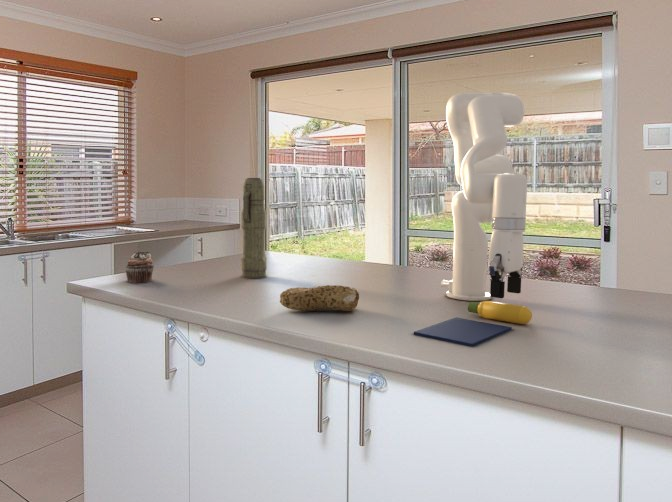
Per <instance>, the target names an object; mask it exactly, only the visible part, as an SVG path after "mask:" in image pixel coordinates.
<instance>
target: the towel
mask: <svg viewBox="0 0 672 502" xmlns="http://www.w3.org/2000/svg"><path fill="white" fill-rule="evenodd" d="M512 329H513V327H512V326H508V325H504V324H503V325H501V324H496V323H491V322H484V321H479V320H474V319H468V318H462V317H453V318H451V319H448V320H445V321H442V322H439V323H436V324H433V325H430V326H427V327H424V328H421V329H418V330H415V331H413V335H414V336H420V337H423V338H430V339H434V340H438V341H443V342H448V343H453V344H457V345H458V344H459V345H463V346H468V347H474V346H477V345H480V344H482V343H484V342H486V341H488V340H491V339H493V338H495V337H497V336H500V335H503V334H505V333H507V332H509V331H512Z"/></svg>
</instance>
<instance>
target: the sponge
mask: <svg viewBox="0 0 672 502" xmlns="http://www.w3.org/2000/svg"><path fill="white" fill-rule="evenodd" d="M359 300H360V292H359V291H358V289H356V288H354V287H350V286H344V285H336V284H335V285H329V284H328V285H318V286H315V287H304V286H303V287H300V286H299V287H290V288H288V289H286V290H285V291H282V292H281V293H280V295H279V303H280V304H281V306H283V307H284V308H287V309H290V310H294V311H300V312H314V311H315V312H317V311H322V310H337V311H343V312H351V311H353V310H355V309H356V308H357V307H358V303H359Z"/></svg>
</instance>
